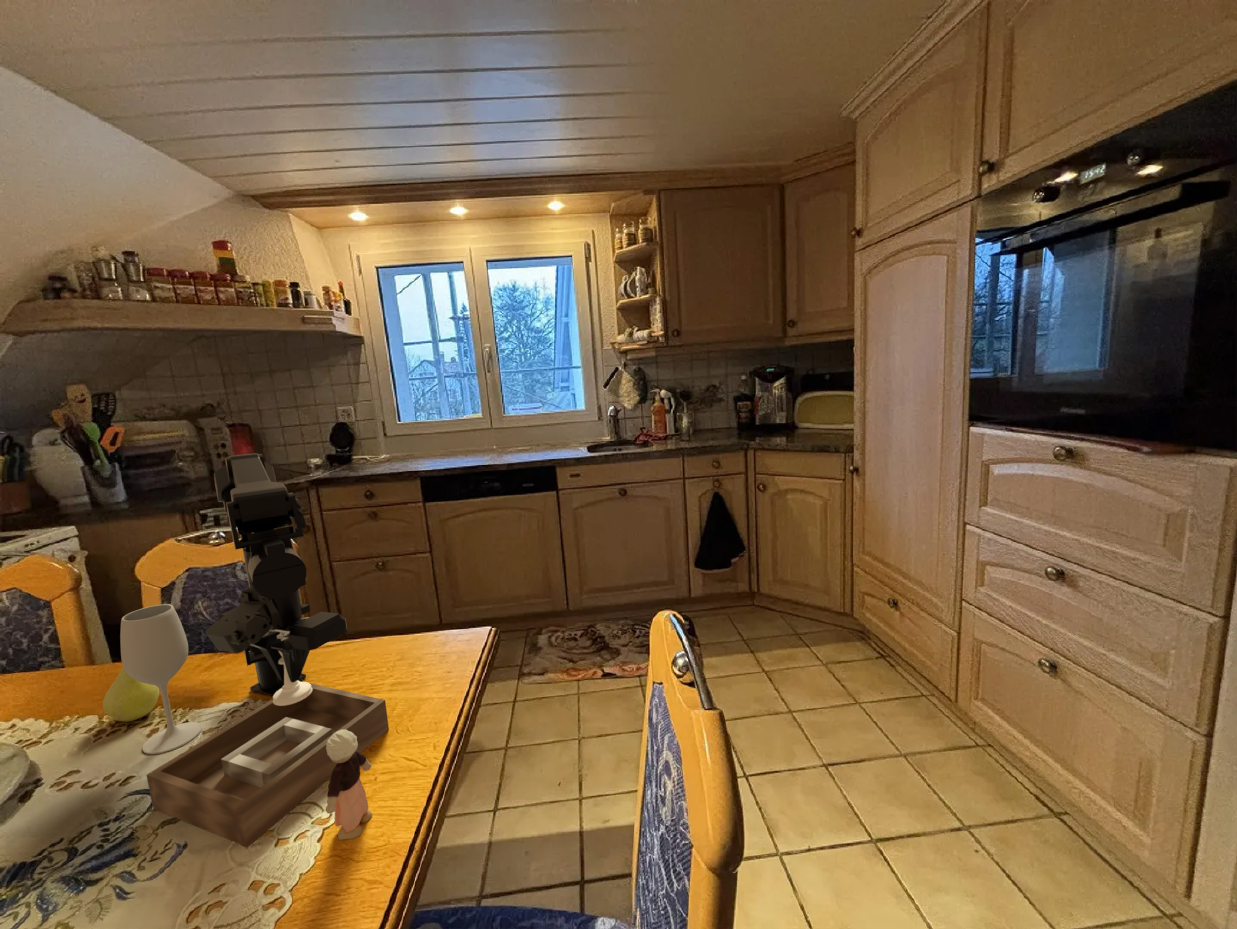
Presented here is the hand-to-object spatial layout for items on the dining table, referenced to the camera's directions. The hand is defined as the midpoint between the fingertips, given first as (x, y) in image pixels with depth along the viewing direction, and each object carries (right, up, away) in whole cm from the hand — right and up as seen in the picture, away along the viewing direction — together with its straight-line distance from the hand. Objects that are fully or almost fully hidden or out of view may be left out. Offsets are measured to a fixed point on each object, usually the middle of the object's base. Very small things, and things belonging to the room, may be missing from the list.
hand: (289, 680), depth 76 cm
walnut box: (-1, -12, -1) cm, 12 cm away
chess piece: (0, -3, 0) cm, 3 cm away
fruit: (-34, -12, +13) cm, 38 cm away
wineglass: (-23, -12, +7) cm, 27 cm away
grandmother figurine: (+15, -13, -12) cm, 23 cm away
